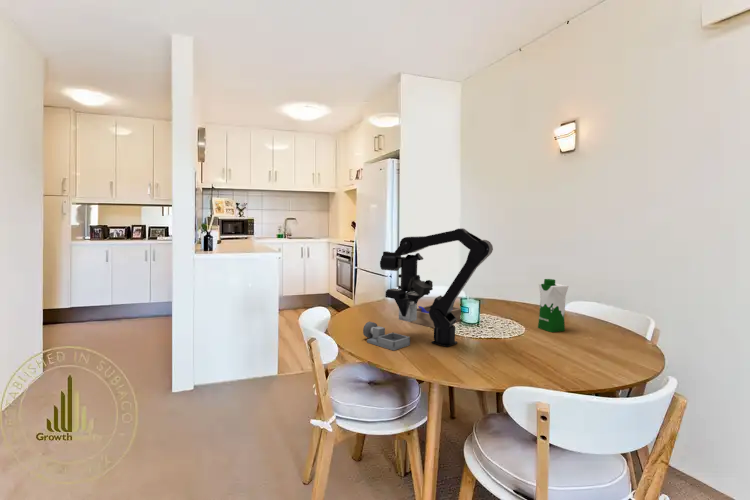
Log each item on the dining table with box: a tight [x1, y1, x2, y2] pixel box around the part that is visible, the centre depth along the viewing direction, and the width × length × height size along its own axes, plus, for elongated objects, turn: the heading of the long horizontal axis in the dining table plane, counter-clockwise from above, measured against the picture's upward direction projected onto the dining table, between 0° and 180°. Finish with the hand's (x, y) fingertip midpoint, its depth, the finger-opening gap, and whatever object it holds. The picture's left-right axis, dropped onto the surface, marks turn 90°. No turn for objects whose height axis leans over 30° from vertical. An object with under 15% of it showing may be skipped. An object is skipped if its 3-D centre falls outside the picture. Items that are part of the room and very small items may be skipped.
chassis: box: [366, 325, 411, 351], centre depth 137 cm, size 14×8×5 cm, turn 47°
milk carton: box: [537, 278, 569, 333], centre depth 159 cm, size 9×9×20 cm
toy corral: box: [410, 304, 462, 329], centre depth 169 cm, size 13×20×5 cm, turn 137°
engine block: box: [398, 300, 418, 323], centre depth 144 cm, size 5×4×7 cm
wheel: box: [362, 321, 379, 339], centre depth 142 cm, size 2×6×6 cm, turn 137°
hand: (407, 315), depth 144 cm, fingers closed on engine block, 4 cm apart
